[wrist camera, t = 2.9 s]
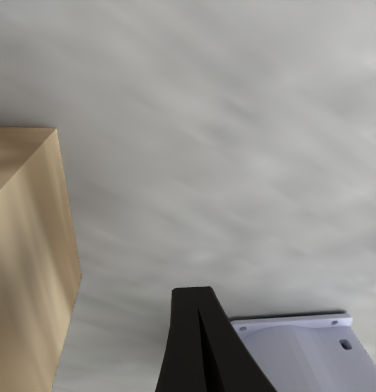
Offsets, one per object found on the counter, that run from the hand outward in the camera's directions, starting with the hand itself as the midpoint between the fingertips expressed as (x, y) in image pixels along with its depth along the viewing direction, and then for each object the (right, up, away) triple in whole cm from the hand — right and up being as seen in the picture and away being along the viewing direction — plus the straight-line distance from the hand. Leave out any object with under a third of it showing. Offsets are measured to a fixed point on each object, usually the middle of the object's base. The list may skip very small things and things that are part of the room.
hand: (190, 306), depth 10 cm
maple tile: (-8, +3, +4) cm, 9 cm away
